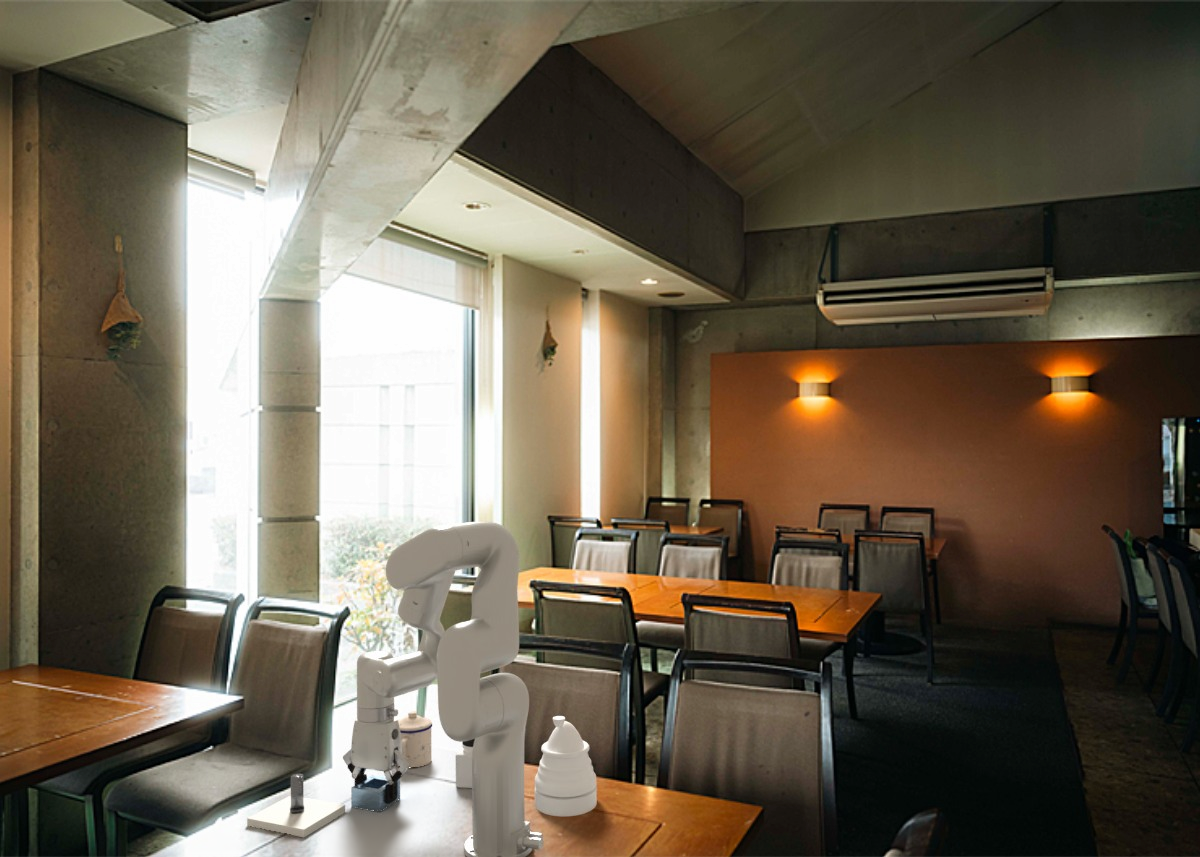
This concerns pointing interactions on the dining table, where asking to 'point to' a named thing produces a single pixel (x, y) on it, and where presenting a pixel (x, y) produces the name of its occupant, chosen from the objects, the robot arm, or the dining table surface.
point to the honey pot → (565, 774)
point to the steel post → (297, 794)
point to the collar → (371, 794)
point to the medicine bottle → (464, 765)
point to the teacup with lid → (416, 739)
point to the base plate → (296, 816)
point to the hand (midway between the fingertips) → (376, 798)
